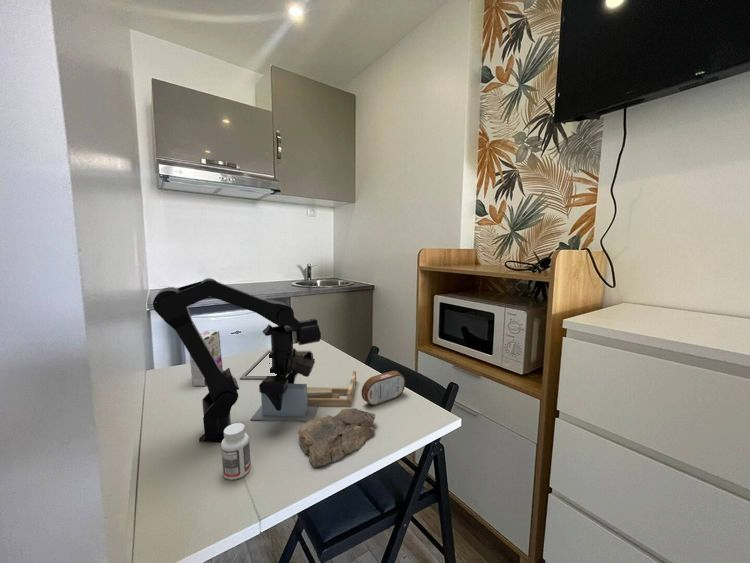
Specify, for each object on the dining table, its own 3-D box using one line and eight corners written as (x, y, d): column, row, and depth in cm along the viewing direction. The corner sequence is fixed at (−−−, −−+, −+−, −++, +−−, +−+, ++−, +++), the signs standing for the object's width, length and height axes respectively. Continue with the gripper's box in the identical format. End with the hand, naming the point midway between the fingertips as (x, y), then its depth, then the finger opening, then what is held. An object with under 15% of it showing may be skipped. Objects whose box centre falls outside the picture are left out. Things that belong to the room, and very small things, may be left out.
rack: (350, 406, 89) (350, 393, 88) (274, 405, 90) (273, 392, 89) (356, 381, 105) (356, 370, 104) (291, 380, 106) (290, 369, 105)
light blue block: (304, 416, 83) (303, 389, 82) (262, 415, 84) (260, 388, 83) (307, 410, 86) (306, 383, 85) (266, 409, 87) (265, 383, 86)
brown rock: (360, 412, 87) (292, 437, 75) (360, 396, 86) (291, 419, 75) (389, 440, 75) (314, 473, 64) (390, 421, 74) (314, 452, 63)
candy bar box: (210, 372, 113) (206, 330, 111) (223, 372, 113) (220, 330, 111) (191, 386, 102) (187, 340, 100) (205, 387, 102) (202, 340, 99)
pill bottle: (242, 458, 68) (239, 417, 67) (256, 468, 65) (253, 426, 63) (218, 473, 64) (214, 430, 62) (231, 485, 60) (228, 440, 59)
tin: (400, 391, 98) (400, 367, 97) (406, 395, 95) (407, 370, 94) (360, 405, 90) (360, 378, 89) (366, 410, 87) (366, 382, 86)
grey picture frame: (239, 377, 106) (270, 348, 136) (239, 382, 106) (270, 351, 136) (293, 378, 106) (312, 348, 135) (293, 382, 106) (312, 351, 136)
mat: (311, 422, 81) (311, 420, 81) (250, 420, 82) (250, 419, 82) (317, 407, 88) (317, 406, 88) (261, 406, 89) (261, 405, 89)
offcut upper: (331, 397, 92) (331, 392, 91) (301, 398, 91) (301, 392, 91) (332, 393, 94) (332, 388, 94) (303, 394, 94) (303, 388, 94)
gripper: (301, 361, 73) (303, 421, 75) (319, 337, 92) (320, 386, 94) (256, 361, 74) (260, 420, 76) (283, 337, 92) (285, 385, 94)
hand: (284, 401), depth 85 cm, fingers open, 9 cm apart
